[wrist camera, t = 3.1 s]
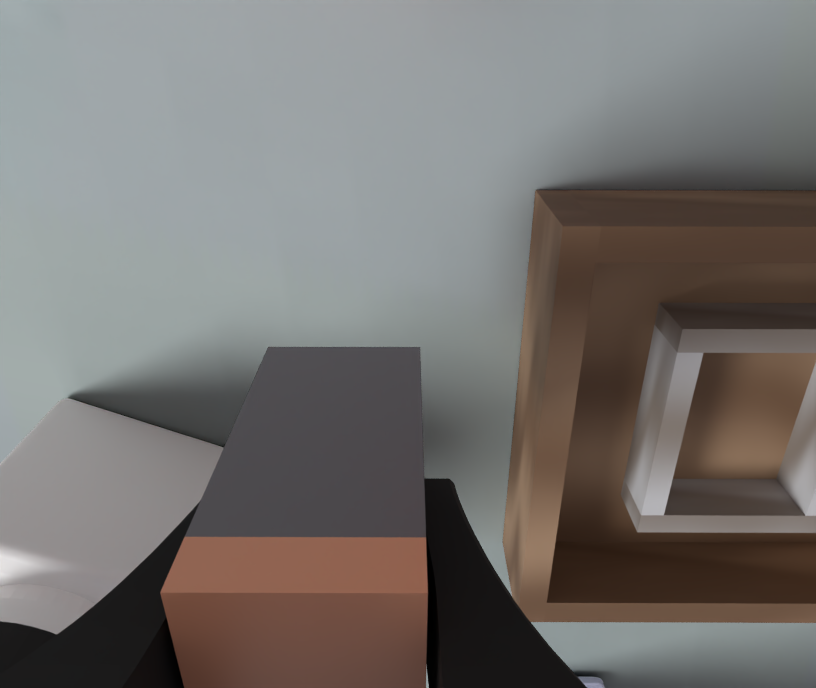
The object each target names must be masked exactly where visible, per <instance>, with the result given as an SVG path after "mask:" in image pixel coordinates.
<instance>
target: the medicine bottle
mask: <svg viewBox="0 0 816 688" xmlns="http://www.w3.org/2000/svg"><path fill="white" fill-rule="evenodd" d="M223 449H224V447H221V446H218V445H214V444H211V443H208V442H205V441H202V440H199V439H196V438H192V437H189V436H186V435H183V434H180V433H177V432H173V431H170V430H167V429H164V428H161V427H158V426H155V425H151V424H148V423H145V422H142V421H139V420H136V419H132V418H129V417H126V416H123V415H120V414H117V413H114V412H110V411H107V410H104V409H101V408H98V407H95V406H91V405H88V404H85V403H82V402H79V401H76V400H73V399H68V398H65V399H62V400H60V401H58V402H57V403H56V404H55V405H54V407H53V408H52V409H51V410H50V411H49V412H48V413H47V414H46V415H45V416H44V417H43V418H42V419H41V420H40V422H39V423H38V424H37V425H36V426H35V427H34V428H33V429H32V430H31V431H30V432H29V433H28V434H27V436H26V437H25V438H24V439H23V440H22V441H21V442H20V443H19V444H18V445H17V446H16V447H15V448H14V449H13V451H12V452H11V453H10V454H9V455H8V456H7V457H6V458H5V459H4V460H3V461H2V462H1V463H0V674H1V673H2V672H4V671H6V670H7V669H9V668H10V667H12V666H13V665H15V664H16V663H18V662H19V661H21V660H22V659H24V658H25V657H26V656H28V655H29V654H31V653H32V652H33V651H35V650H36V649H37V648H39V647H40V646H42V645H43V644H44V643H46V642H47V641H49V640H50V639H51V638H53V637H54V636H55V635H57V634H58V633H60V632H61V631H62V630H64V629H65V628H67V627H68V626H69V625H71V624H72V623H73V622H74V621H76V620H77V619H78V618H79V617H81V616H82V615H83V614H84V613H86V612H87V611H88V610H89V609H90V608H92V607H93V606H94V605H95V604H97V603H98V602H99V601H100V600H101V599H102V598H104V597H105V596H106V595H107V594H108V593H109V592H110V591H112V590H113V589H114V588H115V587H116V586H117V585H118V584H119V583H120V582H121V581H123V580H124V579H125V578H126V577H127V576H128V575H129V574H130V573H131V572H132V571H133V570H134V569H135V568H136V567H137V566H138V565H139V564H140V563H141V562H142V561H144V560H145V559H146V558H147V557H148V556H149V555H150V554H151V553H152V552H153V551H154V550H155V549H156V548H157V547H158V546H159V545H160V544H161V542H162V541H163V540H164V539H165V538H166V537H167V536H168V535H169V534H170V533H171V532H172V531H173V530H174V529H175V528H176V527H177V526H178V525H179V524H180V523H181V521H182V520H183V519H184V518H185V517H186V516H187V515H188V514H189V513H190V512H191V510H192V509H193V508H194V507H195V506H196V505H197V504H198V503H199V502H200V500H201V499H202V496H203V494H204V492H205V489H206V487H207V485H208V483H209V480H210V478H211V476H212V474H213V471H214V469H215V467H216V464H217V462H218V460H219V458H220V455H221V453H222V451H223Z"/></svg>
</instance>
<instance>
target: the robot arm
mask: <svg viewBox="0 0 816 688" xmlns="http://www.w3.org/2000/svg"><path fill="white" fill-rule="evenodd" d="M424 488H425V520H426V551H427V583H428V608H427V654H426V664H427V673H428V682H429V688H605V687H604V683H603V681H602V679H600V678H598V677H577V676H576V675H575V674H574V673H573V672H572V670H571V669H570V668H569V667H568V666H567V665H566V664H565V663H564V662H563V661H562V659H561V658H560V657H559V656H558V655H557V654H556V653H555V652H554V651H553V650H552V648H551V647H550V646H549V645H548V644H547V642H546V641H545V640H544V639H543V637H542V636H541V635H540V634H539V632H538V631H537V630H536V629H535V627H534V626H533V625H532V624H531V622H530V621H529V620H528V618H527V617H526V616H525V614H524V613H523V612H522V610H521V609H520V607H519V606H518V605H517V603H516V602H515V600H514V599H513V598H512V596H511V595H510V593H509V592H508V590H507V589H506V587H505V585H504V584H503V582H502V581H501V579H500V578H499V576H498V574H497V573H496V571H495V570H494V568H493V566H492V565H491V563H490V561H489V560H488V558H487V556H486V554H485V552H484V551H483V549H482V547H481V545H480V543H479V541H478V539H477V538H476V536H475V534H474V532H473V530H472V528H471V526H470V524H469V522H468V519H467V517H466V515H465V513H464V510H463V508H462V506H461V503H460V501H459V498H458V495H457V492H456V489H455V485H454V483H453V482H452V481H451V480H450V479H424ZM200 501H201V500H200ZM199 503H200V502H199ZM199 503H198V504H197V505H196V506H195V507H194V508H193V509H192V510H191V512H190V513H189V514H188V515H187V516H186V517H185V518H184V519H183V520H182V521H181V523H180V524H179V525H178V526H177V527H176V528H175V529H174V530H173V531H172V532H171V533H170V534H169V535H168V536H167V537H166V538H165V539H164V540H163V541H162V542H161V544H160V545H159V546H158V547H157V548H156V549H155V550H154V551H153V552H152V553H151V554H150V555H149V556H148V557H147V558H146V559H145V560H144V561H142V562H141V563H140V564H139V565H138V566H137V567H136V568H135V569H134V570H133V571H132V572H131V573H130V574H129V575H128V576H127V577H126V578H125V579H124V580H123V581H121V582H120V583H119V584H118V585H117V586H116V587H115V588H114V589H113V590H112V591H110V592H109V593H108V594H107V595H106V596H105V597H104V598H102V599H101V600H100V601H99V602H98V603H97V604H95V605H94V606H93V607H92V608H90V609H89V610H88V611H87V612H86V613H84V614H83V615H82V616H81V617H79V618H78V619H77V620H76V621H74V622H73V623H72V624H71V625H69V626H68V627H67V628H65V629H64V630H62V631H61V632H60V633H58V634H57V635H55V636H54V637H53V638H51V639H50V640H49V641H47V642H46V643H44V644H43V645H42V646H40V647H39V648H37V649H36V650H35V651H33V652H32V653H31V654H29V655H28V656H26V657H25V658H24V659H22V660H21V661H19V662H18V663H16V664H15V665H13V666H12V667H10V668H9V669H7V670H6V671H4V672H2V673H1V674H0V688H184V685H183V681H182V677H181V673H180V669H179V665H178V661H177V657H176V653H175V649H174V645H173V641H172V637H171V633H170V629H169V625H168V621H167V617H166V614H165V610H164V606H163V602H162V598H161V594H160V592H161V590H162V587H163V585H164V583H165V581H166V578H167V576H168V574H169V571H170V569H171V567H172V565H173V562H174V560H175V558H176V555H177V553H178V551H179V549H180V546H181V544H182V542H183V540H184V537H185V535H186V533H187V530H188V528H189V526H190V524H191V521H192V519H193V517H194V515H195V512H196V510H197V508H198V505H199Z"/></svg>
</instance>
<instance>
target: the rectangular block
mask: <svg viewBox="0 0 816 688" xmlns="http://www.w3.org/2000/svg"><path fill="white" fill-rule="evenodd" d="M160 594H161V598H162V602H163V606H164V610H165V614H166V617H167V621H168V625H169V629H170V633H171V637H172V641H173V645H174V649H175V653H176V657H177V661H178V665H179V669H180V673H181V677H182V681H183V685H184V688H426V654H427V608H428V583H427V551H426V520H425V488H424V456H423V425H422V393H421V361H420V347H268V348H267V351H266V353H265V355H264V357H263V360H262V362H261V364H260V367H259V369H258V371H257V373H256V376H255V378H254V380H253V383H252V385H251V387H250V389H249V392H248V394H247V396H246V398H245V401H244V403H243V405H242V408H241V410H240V412H239V414H238V417H237V419H236V421H235V423H234V426H233V428H232V430H231V433H230V435H229V437H228V439H227V442H226V444H225V446H224V449H223V451H222V453H221V455H220V458H219V460H218V462H217V464H216V467H215V469H214V471H213V474H212V476H211V478H210V480H209V483H208V485H207V487H206V489H205V492H204V494H203V496H202V499H201V501H200V503H199V505H198V508H197V510H196V512H195V515H194V517H193V519H192V521H191V524H190V526H189V528H188V530H187V533H186V535H185V537H184V540H183V542H182V544H181V546H180V549H179V551H178V553H177V555H176V558H175V560H174V562H173V565H172V567H171V569H170V571H169V574H168V576H167V578H166V581H165V583H164V585H163V587H162V590H161V592H160Z"/></svg>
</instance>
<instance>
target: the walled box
mask: <svg viewBox="0 0 816 688" xmlns="http://www.w3.org/2000/svg"><path fill="white" fill-rule="evenodd" d="M503 547H504V552H505V558H506V564H507V569H508V575H509V580H510V586H511V592H512V597H513V599H514V600H515V602H516V603H517V605H518V606H519V607H520V609H521V610H522V612H523V613H524V614H525V616H526V617H527V618H528V620H529V621H530V622H744V623H816V191H803V190H536V191H535V201H534V212H533V223H532V233H531V244H530V255H529V266H528V276H527V287H526V298H525V308H524V319H523V330H522V341H521V351H520V362H519V373H518V383H517V394H516V405H515V416H514V426H513V437H512V448H511V458H510V469H509V480H508V491H507V501H506V512H505V523H504V533H503Z"/></svg>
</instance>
